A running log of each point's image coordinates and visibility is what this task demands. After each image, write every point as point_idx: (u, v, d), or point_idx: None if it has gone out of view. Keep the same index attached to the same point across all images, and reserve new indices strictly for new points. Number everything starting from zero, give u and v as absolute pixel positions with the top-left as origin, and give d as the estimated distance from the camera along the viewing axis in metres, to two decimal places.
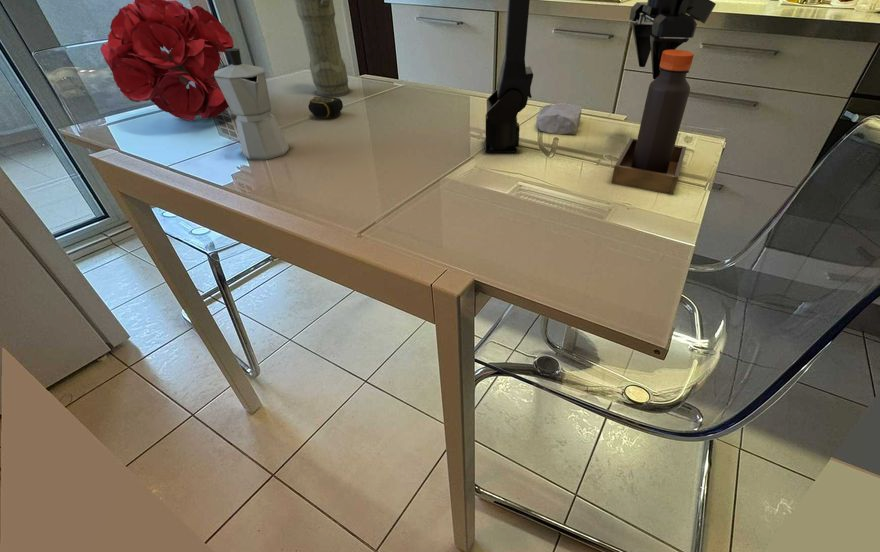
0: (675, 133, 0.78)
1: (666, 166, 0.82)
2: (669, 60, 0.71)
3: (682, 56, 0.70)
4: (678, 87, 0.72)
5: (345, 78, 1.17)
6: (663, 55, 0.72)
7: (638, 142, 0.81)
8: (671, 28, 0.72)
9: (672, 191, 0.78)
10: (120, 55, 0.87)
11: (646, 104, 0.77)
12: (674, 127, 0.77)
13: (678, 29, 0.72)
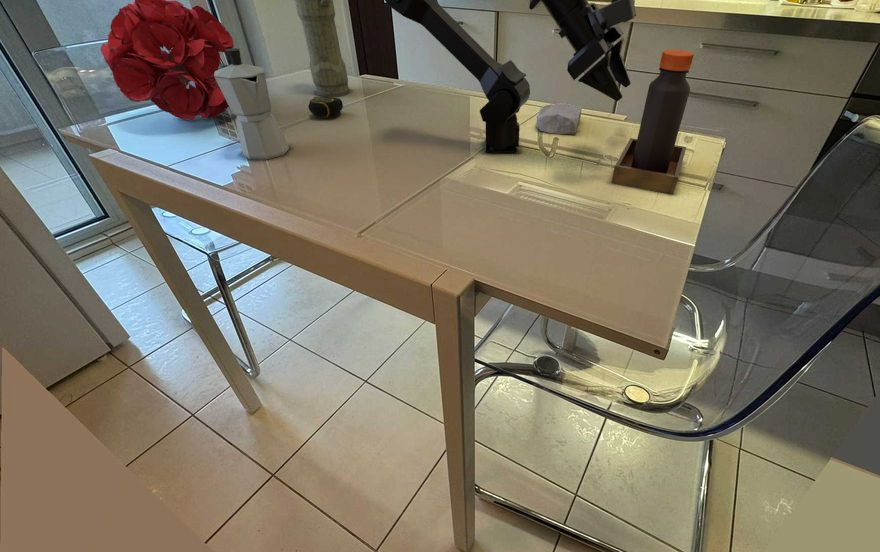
0: (675, 133, 0.78)
1: (666, 166, 0.82)
2: (669, 60, 0.71)
3: (682, 56, 0.70)
4: (678, 87, 0.72)
5: (345, 78, 1.17)
6: (663, 55, 0.72)
7: (638, 142, 0.81)
8: (577, 66, 0.70)
9: (672, 191, 0.78)
10: (120, 55, 0.87)
11: (646, 104, 0.77)
12: (674, 127, 0.77)
13: (584, 61, 0.69)
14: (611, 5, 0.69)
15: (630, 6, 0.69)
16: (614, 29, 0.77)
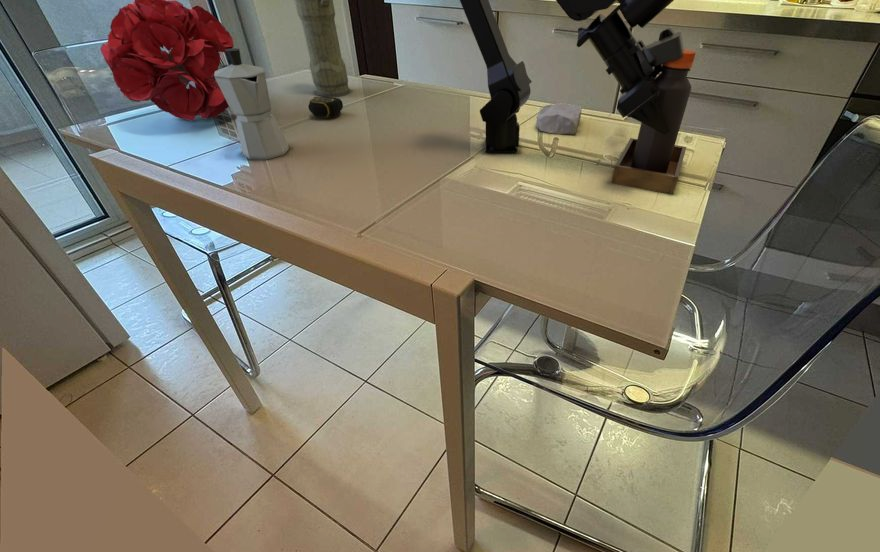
0: (675, 132, 0.78)
1: (666, 165, 0.81)
2: None
3: (684, 53, 0.70)
4: (679, 84, 0.73)
5: (345, 78, 1.17)
6: None
7: (638, 140, 0.81)
8: (628, 104, 0.71)
9: (672, 191, 0.78)
10: (120, 55, 0.87)
11: None
12: (675, 125, 0.77)
13: (635, 100, 0.70)
14: (661, 44, 0.70)
15: (680, 45, 0.70)
16: None
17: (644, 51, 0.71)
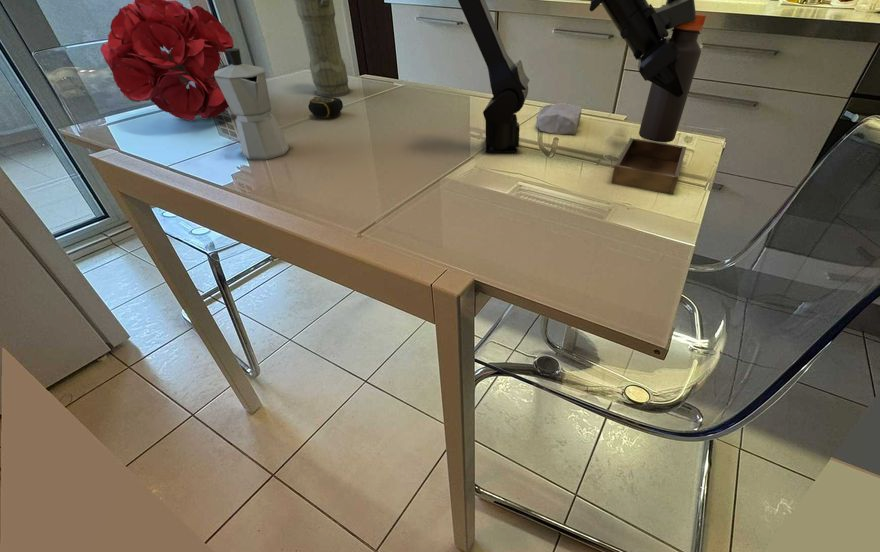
0: (686, 95, 0.79)
1: (675, 130, 0.83)
2: None
3: (697, 15, 0.72)
4: (692, 46, 0.74)
5: (345, 78, 1.17)
6: None
7: (649, 106, 0.82)
8: (652, 66, 0.71)
9: (672, 191, 0.78)
10: (120, 55, 0.87)
11: None
12: (686, 88, 0.78)
13: (659, 61, 0.70)
14: (676, 6, 0.71)
15: (694, 7, 0.71)
16: None
17: (659, 13, 0.72)
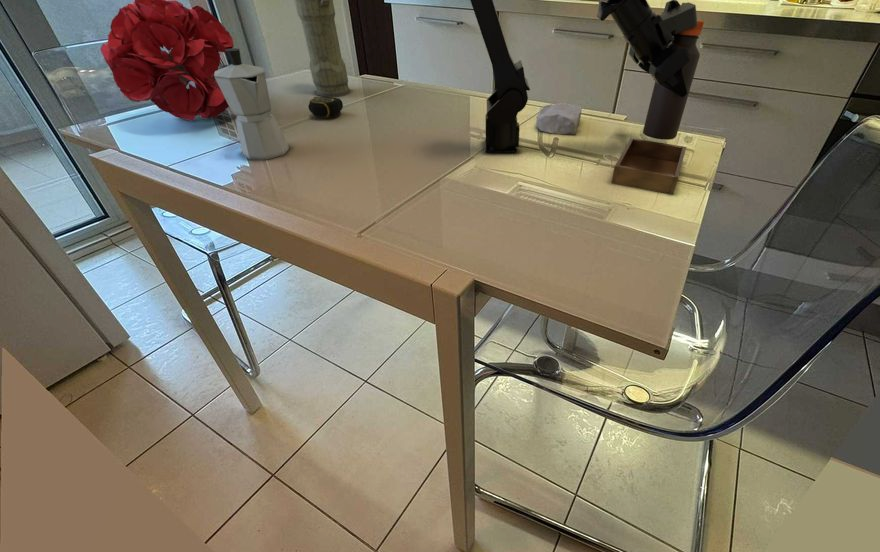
0: (687, 95, 0.85)
1: (678, 128, 0.89)
2: None
3: (698, 21, 0.78)
4: (694, 50, 0.80)
5: (345, 78, 1.17)
6: None
7: (654, 107, 0.87)
8: (666, 71, 0.76)
9: (672, 191, 0.78)
10: (120, 55, 0.87)
11: None
12: (688, 89, 0.84)
13: (673, 66, 0.75)
14: (681, 14, 0.76)
15: (696, 14, 0.77)
16: None
17: (665, 21, 0.77)
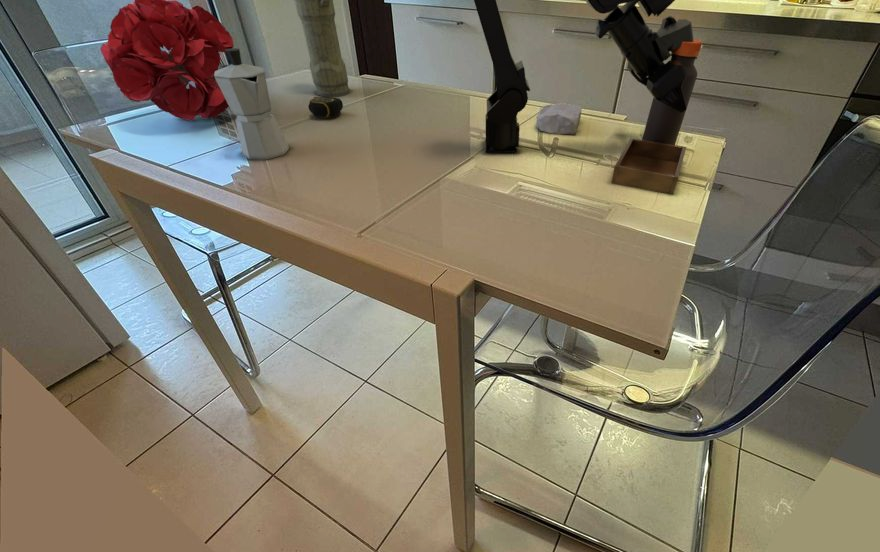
0: (684, 113, 0.87)
1: None
2: (684, 47, 0.79)
3: (696, 43, 0.79)
4: (691, 71, 0.81)
5: (345, 78, 1.17)
6: None
7: (651, 123, 0.88)
8: (663, 87, 0.77)
9: (672, 191, 0.78)
10: (120, 55, 0.87)
11: None
12: None
13: (670, 82, 0.77)
14: (677, 31, 0.78)
15: None
16: None
17: (661, 38, 0.79)
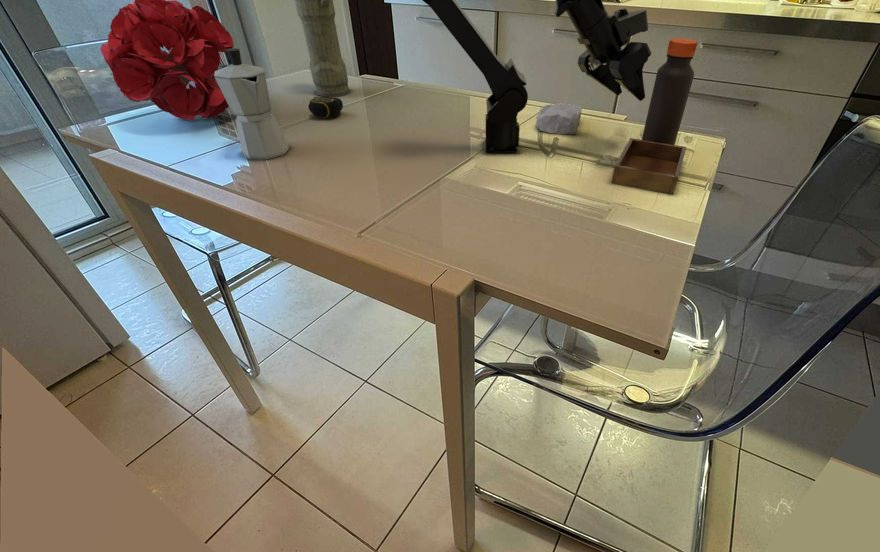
0: None
1: (674, 143, 0.91)
2: (679, 48, 0.79)
3: (691, 44, 0.79)
4: (688, 71, 0.81)
5: (345, 78, 1.17)
6: (672, 44, 0.80)
7: (650, 125, 0.89)
8: (629, 64, 0.75)
9: (672, 191, 0.78)
10: (120, 55, 0.87)
11: (657, 89, 0.84)
12: (683, 107, 0.86)
13: (635, 60, 0.75)
14: (634, 16, 0.78)
15: None
16: None
17: (620, 22, 0.78)
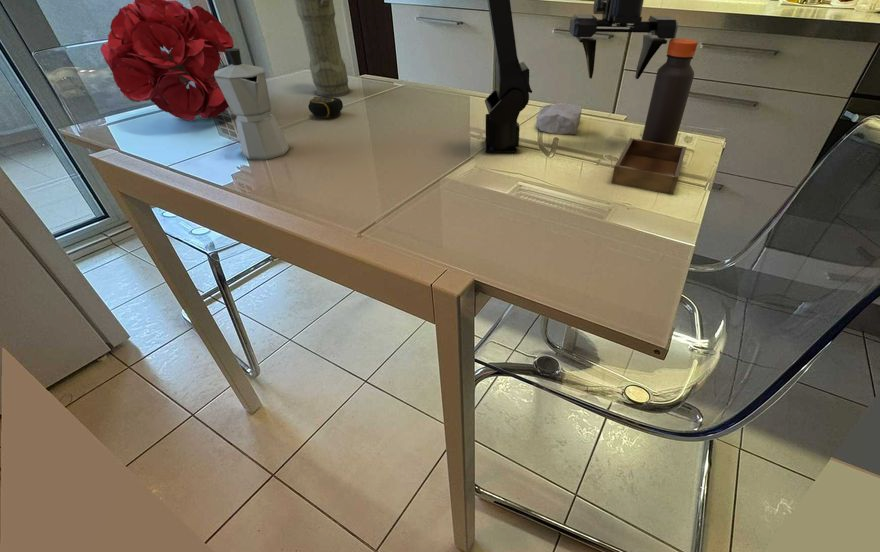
0: None
1: (674, 143, 0.91)
2: (679, 48, 0.79)
3: (691, 44, 0.79)
4: (688, 71, 0.81)
5: (345, 78, 1.17)
6: (672, 44, 0.80)
7: (650, 125, 0.89)
8: None
9: (672, 191, 0.78)
10: (120, 55, 0.87)
11: (657, 89, 0.84)
12: (683, 107, 0.86)
13: None
14: None
15: None
16: None
17: None
